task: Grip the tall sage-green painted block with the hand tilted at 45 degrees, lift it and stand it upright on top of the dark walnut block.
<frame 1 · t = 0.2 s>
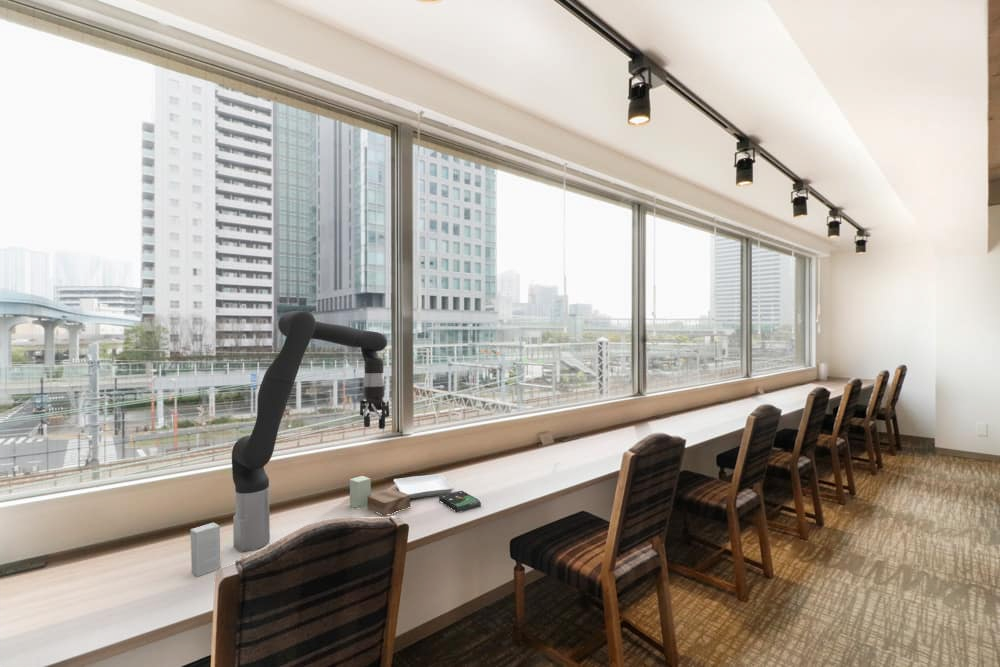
hand: (374, 427, 179), 29 cm above the counter, tool pointing down, fingers open, 8 cm apart
disk drive: (459, 505, 178), on the counter
salad plate: (423, 491, 194), on the counter
walnut block: (388, 509, 174), on the counter
sage block: (360, 505, 178), on the counter
skincare box: (205, 571, 130), on the counter
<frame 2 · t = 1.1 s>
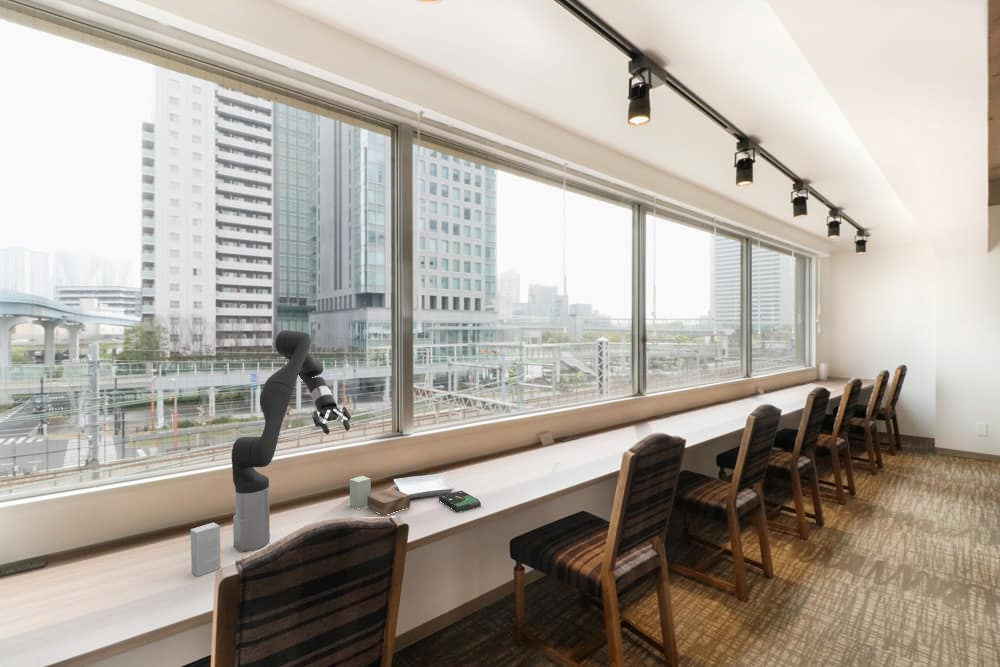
hand: (338, 431, 185), 27 cm above the counter, tool tilted 45°, fingers open, 8 cm apart
nothing on the counter moved.
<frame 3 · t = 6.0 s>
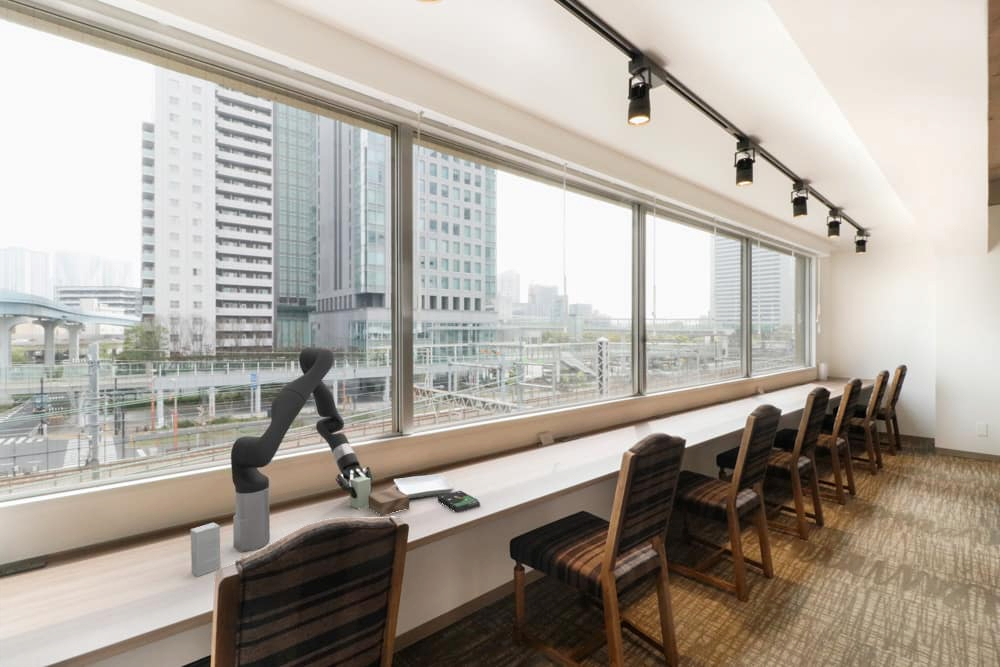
hand: (362, 495, 177), 4 cm above the counter, tool tilted 45°, fingers closed on sage block, 5 cm apart
sage block: (360, 505, 178), on the counter, touching gripper
when the fingers open (9 cm above the counter, at t = 12.8 s): sage block stays where it is, resting on walnut block.
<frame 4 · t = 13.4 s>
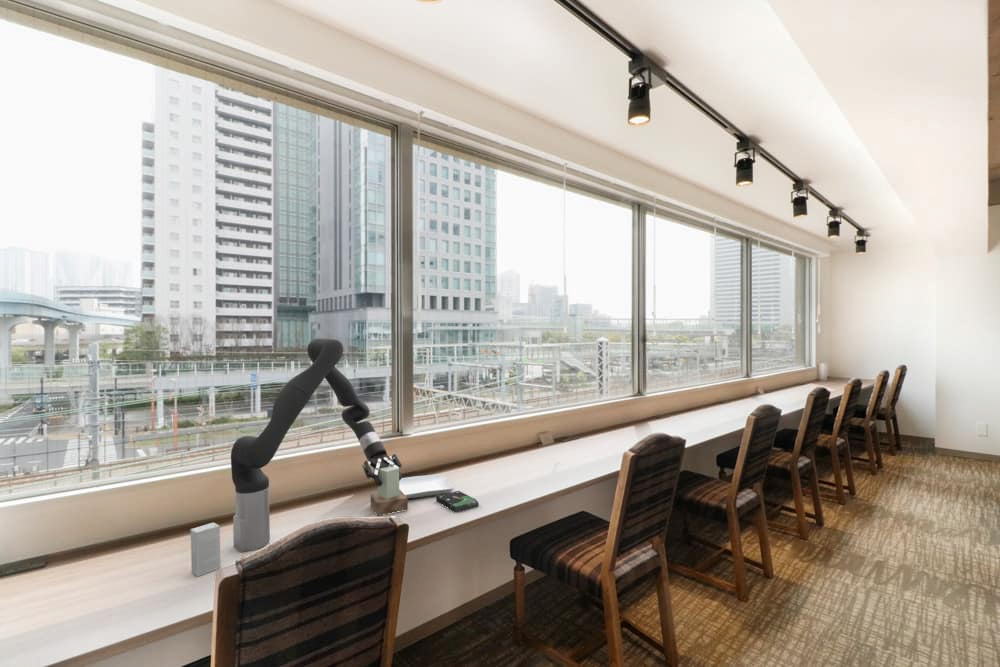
hand: (390, 482, 174), 10 cm above the counter, tool tilted 45°, fingers open, 8 cm apart
walnut block: (388, 509, 174), on the counter, touching sage block
sage block: (388, 495, 175), point 5 cm above the counter, touching walnut block
everything else where it was.
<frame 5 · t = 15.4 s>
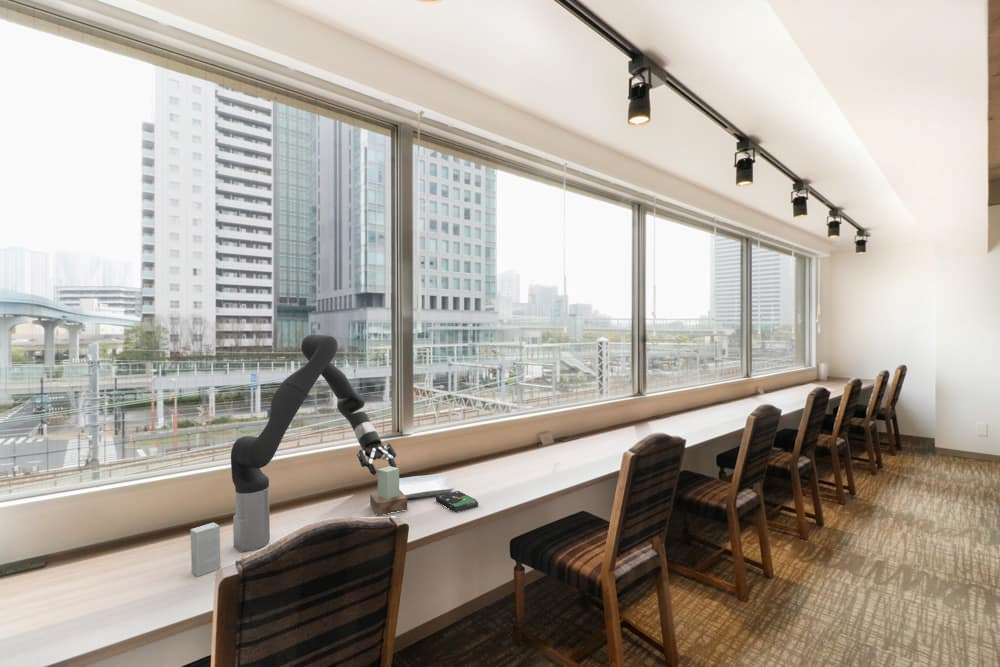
hand: (384, 471, 176), 13 cm above the counter, tool tilted 45°, fingers open, 8 cm apart
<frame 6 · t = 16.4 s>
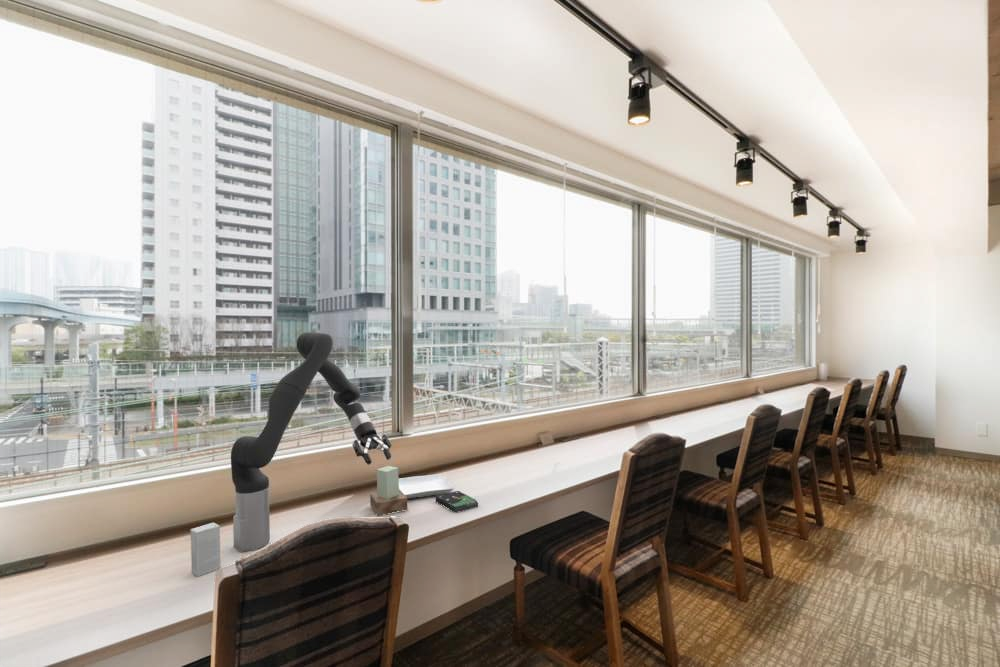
hand: (379, 461, 178), 17 cm above the counter, tool tilted 45°, fingers open, 8 cm apart
walnut block: (388, 509, 174), on the counter
sage block: (388, 495, 175), point 5 cm above the counter
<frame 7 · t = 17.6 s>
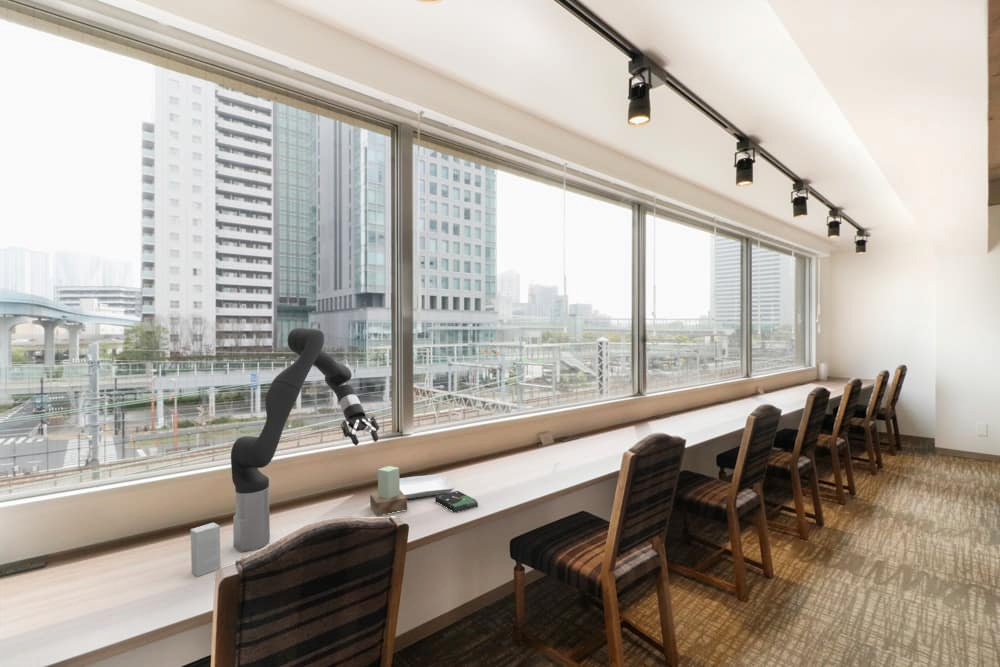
hand: (367, 442, 182), 23 cm above the counter, tool tilted 40°, fingers open, 8 cm apart
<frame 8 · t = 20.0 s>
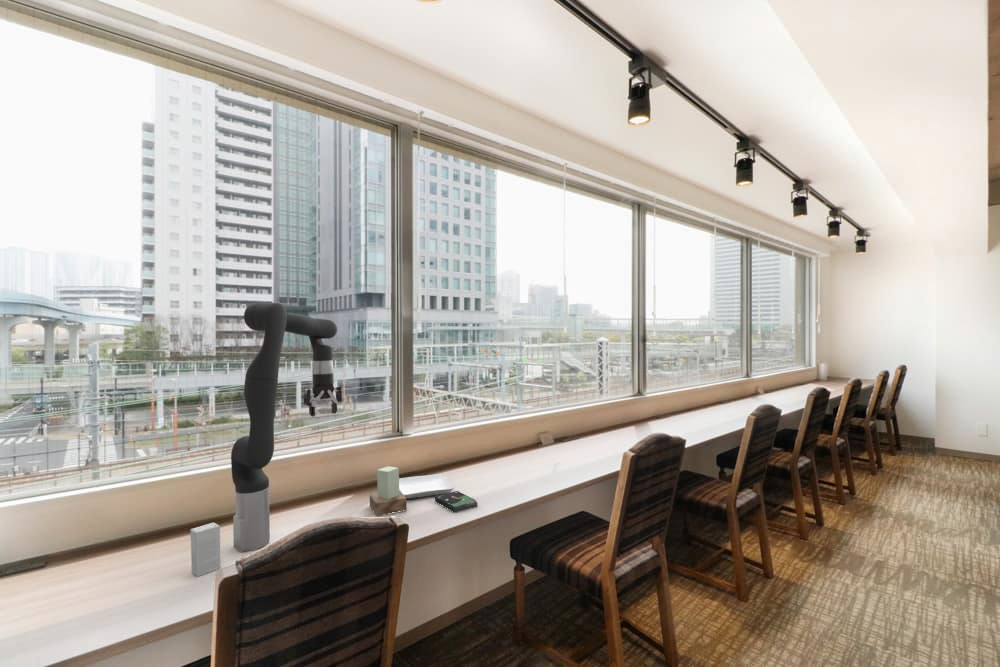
hand: (323, 414, 180), 34 cm above the counter, tool pointing down, fingers open, 8 cm apart
at the end: sage block 0.4 cm off-centre on the walnut block, point 5.1 cm above the walnut block's base; sage block tilted 1°; the gripper is holding nothing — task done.
